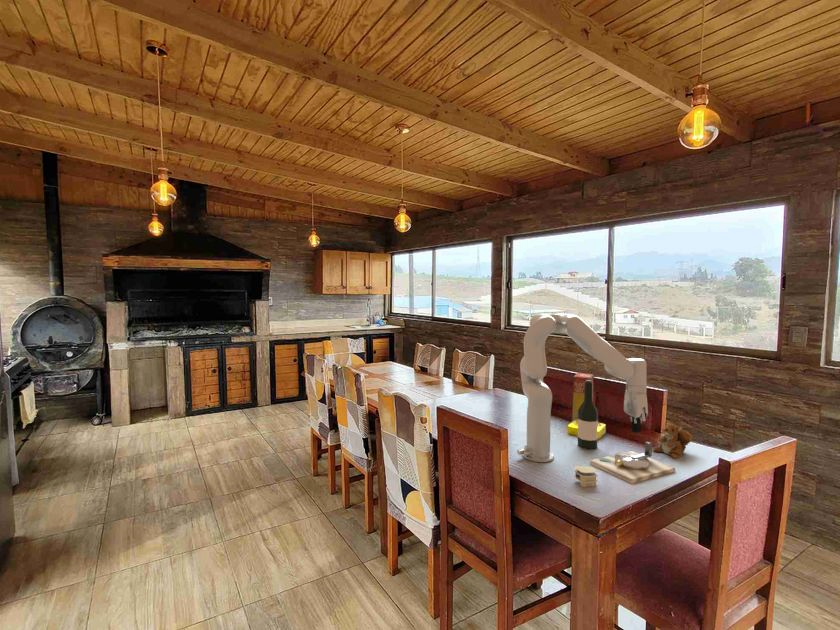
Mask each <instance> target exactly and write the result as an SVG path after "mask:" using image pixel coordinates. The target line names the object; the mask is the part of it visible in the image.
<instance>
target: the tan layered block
mask: <svg viewBox="0 0 840 630" xmlns="http://www.w3.org/2000/svg"><path fill="white" fill-rule="evenodd" d="M574 469H575V470H574V471H573V472H574V473H575V475H574V478H575V479H576V480H578V481H579V486H580V487H584V488H585V487H597V483H598V480H597V478H598V474H597V473H598V471H597V469H595V468H594V466H593V467H591V466H584V465H575V466H574Z"/></svg>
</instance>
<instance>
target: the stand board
mask: <svg viewBox="0 0 840 630" xmlns="http://www.w3.org/2000/svg"><path fill="white" fill-rule="evenodd" d="M626 452H627V453H634V454H639V453H638V452H635V451H633V450H631V451H626ZM647 459H648V460H649V468H647V469H643V470H636V469H629V468H625V467H622V466H617V465H616V462H615V454H612V455H607V456H603V457H598V458H594V459H590V460H589V464H590V465H591V466H593V467H595V468H598V469H600V470H602V471H604V472H606V473H608V474H610V475H613V476H615V477H616V478H619V479H621V480H624V481H625V482H626V483H630V484H635V483H636V484H637V483H638V482H642V481H646V480H650V479H653V478H657V477H660V476H664V475H668V474H671V473H675V472H676V468H675V467H674V466H671V465H669V464H666V463H664V462H661V461H659V460H657V459H653V458H651V457H649V458H647Z"/></svg>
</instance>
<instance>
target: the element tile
mask: <svg viewBox="0 0 840 630" xmlns="http://www.w3.org/2000/svg"><path fill="white" fill-rule="evenodd" d="M606 426H607V425H606V424H605V423H603V422H598V438H597V441H599V440H600V439H601V438H602V437H603V436H604V435H605V434H606V433H607V429H606V428H607V427H606ZM566 427H567V428H566V429H567V432H566V433H567V434H568V435H571V436H576V437H578V419H576V420H574V421H573V422H572V421H571V422H569V423H568V424H567V426H566Z"/></svg>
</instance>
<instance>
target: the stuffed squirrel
mask: <svg viewBox="0 0 840 630" xmlns="http://www.w3.org/2000/svg"><path fill="white" fill-rule="evenodd" d="M660 432H661V434H663V433H664V435H662V436H660V437H658V442H660V443H659V446H655V447H652V452H653V451H654V452H657V453H665V454H666V455H669V456H671V457H672V458H673V459H679V458H681V457H682V454H683V452H685V450H686V449H687V446H688V445H689V443H691V442H693V434H691V433H690V432H689V431H687V430H683V427H682V426H678V425H676V424H674V423H670V422H668V421H667V422H666V425H665V427H664V429H661V430H660Z"/></svg>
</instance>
